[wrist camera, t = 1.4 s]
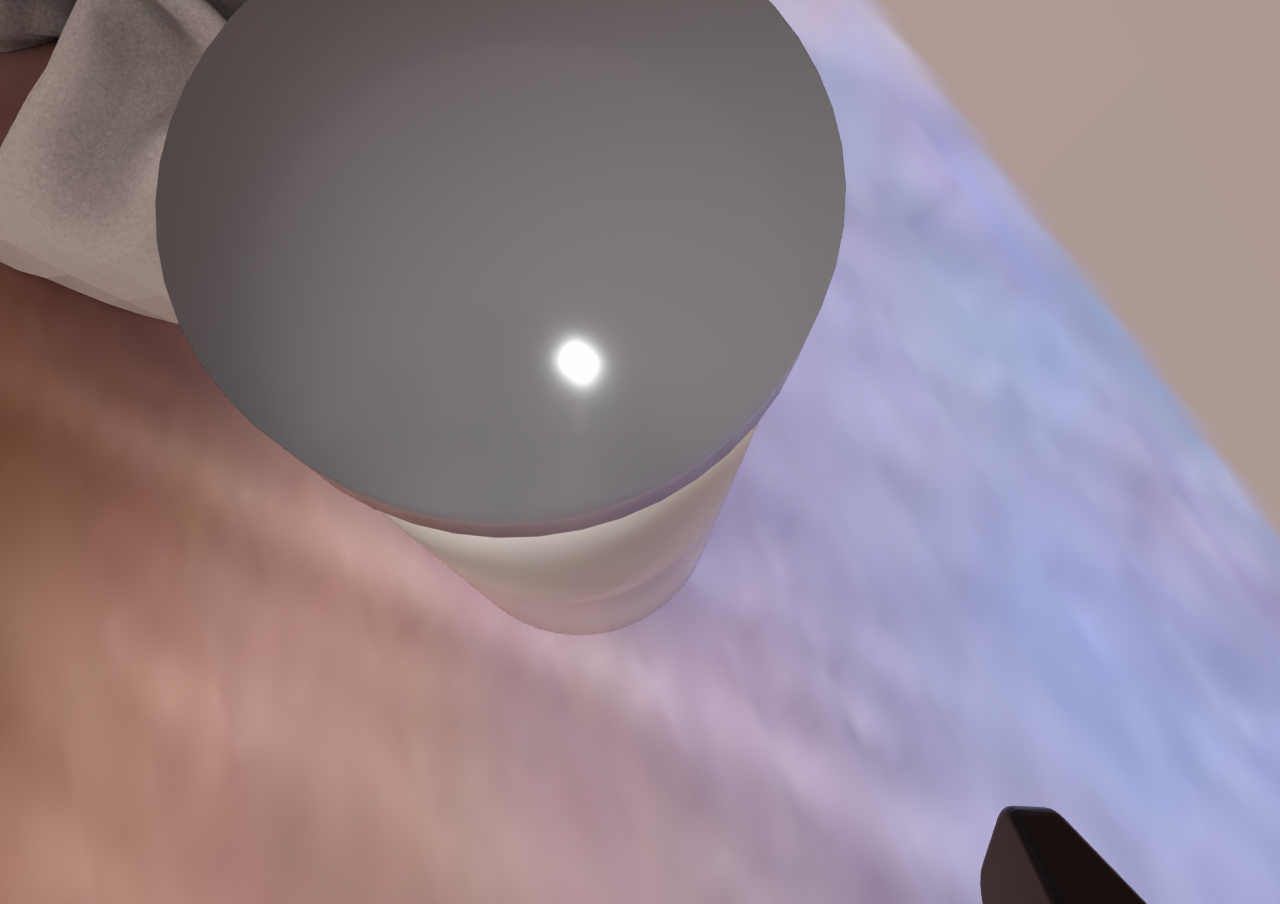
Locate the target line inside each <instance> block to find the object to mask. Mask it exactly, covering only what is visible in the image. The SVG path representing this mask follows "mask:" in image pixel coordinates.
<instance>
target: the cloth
mask: <svg viewBox="0 0 1280 904" xmlns="http://www.w3.org/2000/svg"><path fill="white" fill-rule="evenodd" d="M246 1H247V0H0V52H11V51H15V50H20V49H24V48H28V47H33V46H37V45H41V44H45V43H48V42H50V41H53V40H56V39H58V38H59V40H58V42H57V45H56V47H55V49H54V51H53V53H52V56H51V58H50V60H49V62H48V65H47V67H46V69H45V70H44V72H43V73H42V75H41V76H40V78H39V79H38V81H37V82H36V84H35V85H34V87H33V88H32V90H31V91H30V93H29V94H28V96H27V98H26V100H25V102H24V104H23V105H22V107H21V109H20V111H19V113H18V115H17V117H16V119H15V121H14V123H13V124H12V126H11V128H10V130H9V132H8V134H7V136H6V138H5V140H4V141H3V143H2V145H1V147H0V262H1V263H3V264H6V265H8V266H10V267H12V268H14V269H16V270H18V271H22V272H26V273H29V274H33V275H37V276H40V277H44V278H47V279H49V280H51V281H54V282H56V283H58V284H61V285H63V286H65V287H68V288H70V289H72V290H75V291H77V292H80V293H82V294H85V295H87V296H90V297H92V298H95V299H97V300H100V301H102V302H104V303H107V304H110V305H113V306H116V307H119V308H122V309H125V310H128V311H131V312H134V313H137V314H140V315H144V316H148V317H152V318H156V319H160V320H164V321H168V322H172V323H176V324H179V323H178V320H177V317H176V314H175V312H174V309H173V306H172V303H171V300H170V297H169V295H168V292H167V289H166V286H165V283H164V278H163V273H162V267H161V262H160V257H159V252H158V246H157V235H156V208H155V199H156V190H157V181H158V172H159V163H160V158H161V154H162V151H163V147H164V143H165V139H166V135H167V131H168V127H169V124H170V121H171V118H172V116H173V113H174V111H175V109H176V106H177V104H178V101H179V99H180V96H181V94H182V92H183V89H184V87H185V85H186V83H187V81H188V79H189V78H190V76H191V74H192V72H193V71H194V69H195V67H196V66H197V64H198V62H199V60H200V59H201V57H202V55H203V54H204V52H205V50H206V49H207V47H208V46H209V45H210V43H211V42H212V41H213V40H214V38H215V37H216V36H217V34H218V33H219V32H220V30H221V29H222V28H223V27H224V25H225V24H226V23H227V21H228V20H229V19H230V17H231V16H232V15H233V14H234V13H235V12H236V11H237V10H238V9H239V8H240V7H241V6H242V5H243V4H244V3H245V2H246Z"/></svg>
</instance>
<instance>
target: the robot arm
mask: <svg viewBox="0 0 1280 904" xmlns="http://www.w3.org/2000/svg"><path fill="white" fill-rule="evenodd" d="M980 885H981V896H982V902H983V904H1147V903H1146V902H1145V901H1144V900H1143V899H1142V898H1141V897H1140V896H1139V895H1138V894H1137V893H1136V892H1135V891H1134V890H1133V889H1132V888H1131V887H1130V886H1129V885H1128V884H1127V883H1126V882H1125V881H1124V880H1123V879H1122V878H1121V877H1120V876H1119V875H1118V873H1117V872H1116V871H1115V870H1114V869H1113V868H1112V867H1111V866H1110V865H1109V864H1108V863H1107V862H1106V861H1105V860H1104V859H1103V858H1102V857H1101V856H1100V855H1099V854H1098V853H1097V852H1096V851H1095V850H1094V849H1093V848H1092V847H1091V846H1090V845H1089V844H1088V843H1087V841H1086V840H1085V839H1084V838H1083V837H1082V836H1081V835H1080V834H1079V833H1078V832H1077V831H1076V830H1075V829H1074V828H1073V827H1072V826H1071V825H1070V824H1069V823H1068V822H1067V821H1066V820H1065V819H1064V818H1063V817H1062V816H1061V815H1060V814H1059V813H1057V812H1056V811H1054V810H1052V809H1050V808H1045V807H1027V806H1008V807H1006V808H1004V809H1003V810H1002V811H1001V812H1000V814H999V816H998V819H997V822H996V825H995V828H994V831H993V834H992V837H991V840H990V843H989V846H988V849H987V852H986V855H985V859H984V862H983V865H982V869H981V882H980Z"/></svg>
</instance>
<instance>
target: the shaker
mask: <svg viewBox="0 0 1280 904" xmlns="http://www.w3.org/2000/svg"><path fill="white" fill-rule="evenodd" d="M845 193H846V183H845V172H844V161H843V151H842V144H841V140H840V136H839V132H838V128H837V123H836V119H835V115H834V111H833V107H832V105H831V102H830V100H829V97H828V95H827V92H826V90H825V87H824V85H823V82H822V80H821V77H820V75H819V73H818V71H817V69H816V67H815V65H814V64H813V62H812V60H811V58H810V57H809V55H808V53H807V51H806V50H805V48H804V46H803V44H802V43H801V41H800V39H799V37H798V36H797V35H796V34H795V32H794V31H793V30H792V28H791V27H790V26H789V24H788V23H787V22H786V21H785V19H784V18H783V17H782V15H781V14H780V13H779V11H778V10H777V9H776V7H775V6H774V5H773V4H772V3H771V2H770V1H769V0H247V1H246V2H245V3H244V4H243V5H242V6H241V7H240V8H239V9H238V10H237V11H236V12H235V13H234V14H233V15H232V16H231V17H230V19H229V20H228V21H227V23H226V24H225V25H224V27H223V28H222V29H221V30H220V32H219V33H218V34H217V36H216V37H215V38H214V40H213V41H212V42H211V43H210V45H209V46H208V47H207V49H206V50H205V52H204V54H203V55H202V57H201V59H200V60H199V62H198V64H197V66H196V67H195V69H194V71H193V72H192V74H191V76H190V78H189V79H188V81H187V83H186V85H185V87H184V89H183V92H182V94H181V96H180V99H179V101H178V104H177V106H176V109H175V111H174V113H173V116H172V118H171V121H170V124H169V127H168V131H167V135H166V139H165V143H164V147H163V151H162V154H161V158H160V163H159V172H158V181H157V190H156V199H155V208H156V235H157V246H158V252H159V257H160V262H161V267H162V273H163V278H164V283H165V286H166V289H167V292H168V295H169V297H170V300H171V303H172V306H173V309H174V312H175V314H176V317H177V320H178V323H179V325H180V327H181V328H182V330H183V332H184V334H185V336H186V338H187V340H188V342H189V344H190V345H191V347H192V349H193V351H194V353H195V355H196V357H197V359H198V360H199V362H200V363H201V364H202V366H203V367H204V368H205V370H206V371H207V373H208V374H209V375H210V377H211V378H212V379H213V381H214V382H215V383H216V385H217V386H218V387H219V389H220V390H221V391H222V393H223V394H224V395H225V396H226V397H227V398H228V399H229V400H230V401H231V402H232V403H233V404H234V405H235V406H236V407H237V408H238V409H239V410H240V411H241V412H242V413H243V414H244V415H245V416H246V417H247V418H248V419H249V420H250V421H251V422H252V423H253V424H254V425H255V426H256V427H257V428H258V429H259V430H261V431H262V432H263V433H265V434H266V435H267V436H268V437H270V438H271V439H272V440H274V441H275V442H276V443H278V444H279V445H280V446H281V447H283V448H284V449H285V450H287V451H288V452H289V453H291V454H292V455H293V456H294V457H296V458H297V459H298V460H300V461H301V462H302V463H304V464H305V465H306V466H307V467H309V468H310V469H312V470H313V471H314V472H316V473H317V474H318V475H320V476H321V477H322V478H324V479H325V480H326V481H328V482H329V483H330V484H332V485H333V486H334V487H336V488H337V489H338V490H340V491H342V492H344V493H346V494H348V495H349V496H351V497H353V498H355V499H357V500H358V501H360V502H362V503H364V504H366V505H368V506H369V507H371V508H373V509H375V510H378V511H381V512H382V513H383V514H384V515H385V516H387V517H388V518H389V519H390V520H392V521H393V522H394V523H395V524H397V525H398V526H399V527H400V528H401V529H403V530H404V531H405V532H406V533H408V534H409V535H410V536H411V537H412V538H414V539H415V540H416V541H417V542H419V543H420V544H421V545H422V546H424V547H425V548H426V549H427V550H428V551H430V552H431V553H432V554H433V555H435V556H436V557H437V558H438V559H439V560H441V561H442V562H443V563H444V564H446V565H447V566H448V567H449V568H451V569H452V570H453V571H454V572H455V573H457V574H458V575H459V576H460V577H462V578H463V579H464V580H465V581H467V582H468V583H469V584H470V585H471V586H473V587H474V588H475V589H476V590H478V591H479V592H480V593H481V594H482V595H484V596H485V597H486V598H487V599H489V600H490V601H491V602H492V603H494V604H495V605H496V606H497V607H499V608H500V609H502V610H503V611H504V612H506V613H507V614H508V615H510V616H512V617H514V618H515V619H517V620H519V621H521V622H523V623H525V624H528V625H530V626H533V627H535V628H538V629H541V630H545V631H549V632H553V633H559V634H569V635H592V634H598V633H605V632H610V631H613V630H617V629H620V628H623V627H626V626H629V625H631V624H633V623H635V622H638V621H640V620H642V619H644V618H645V617H647V616H648V615H650V614H652V613H653V612H655V611H656V610H658V609H659V608H660V607H662V606H663V605H664V604H665V603H666V602H668V601H669V600H670V599H671V598H672V597H673V596H674V595H675V594H676V593H677V592H678V591H679V590H680V588H681V587H682V586H683V585H684V583H685V582H686V581H687V579H688V578H689V576H690V575H691V574H692V572H693V570H694V568H695V567H696V565H697V563H698V561H699V559H700V557H701V555H702V552H703V550H704V548H705V545H706V543H707V541H708V538H709V536H710V534H711V531H712V529H713V527H714V524H715V522H716V520H717V518H718V515H719V513H720V511H721V508H722V506H723V504H724V501H725V499H726V497H727V494H728V492H729V490H730V487H731V485H732V483H733V480H734V478H735V476H736V473H737V471H738V469H739V466H740V464H741V462H742V459H743V457H744V455H745V452H746V450H747V448H748V445H749V443H750V441H751V438H752V436H753V434H754V431H755V429H756V427H757V424H758V422H759V420H760V419H761V418H762V416H763V415H764V414H765V412H766V411H767V409H768V408H769V407H770V405H771V404H772V402H773V401H774V400H775V398H776V397H777V395H778V394H779V393H780V391H781V389H782V387H783V385H784V383H785V381H786V379H787V378H788V376H789V374H790V372H791V370H792V368H793V366H794V364H795V362H796V360H797V359H798V356H799V354H800V352H801V350H802V348H803V346H804V343H805V341H806V339H807V337H808V335H809V333H810V330H811V328H812V326H813V324H814V322H815V320H816V317H817V315H818V313H819V311H820V309H821V306H822V304H823V301H824V298H825V295H826V293H827V290H828V287H829V284H830V281H831V279H832V276H833V273H834V270H835V267H836V263H837V258H838V253H839V248H840V243H841V238H842V233H843V228H844V212H845Z"/></svg>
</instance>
